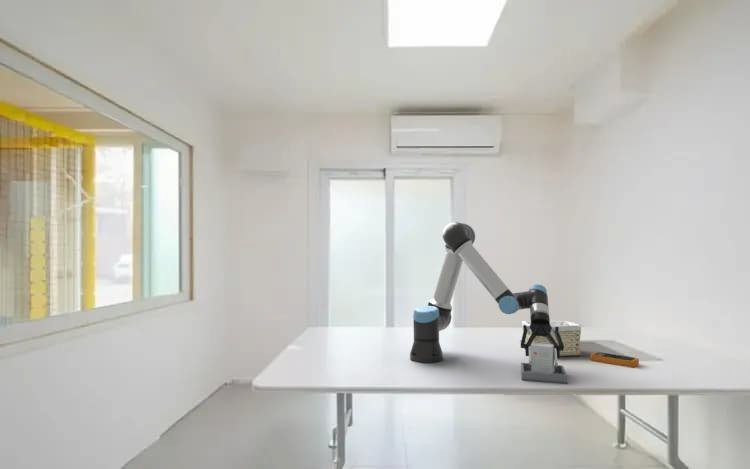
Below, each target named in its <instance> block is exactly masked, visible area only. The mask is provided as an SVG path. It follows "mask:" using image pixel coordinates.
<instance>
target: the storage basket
mask: <svg viewBox="0 0 750 469" xmlns="http://www.w3.org/2000/svg"><path fill="white" fill-rule="evenodd" d="M523 325H526V326H530V325H531V320H522V321H521V328H522V329H523ZM550 325H551V327H554V328H555V327H559V330H558V332H559V334H560V337H561V339H562V342H563V345H564V350H563V351H560V357H565V356H568V357H570V356H580V352H581V334H582V326H581V325H580V324H578V323H576V322H573V321H568V320H550ZM522 332H524V331H523V330H522ZM531 334H532V331H531V330H530V329H529V331H528V332H527V335H526V340H525V344H526V343H527V341H528V340H529V338H530V336H531ZM550 334H551V336H552V337H553V339H554V340H555V342H556V343H557V344H558V342H557V339H556V337H555V333H553V331H552V330H551V331H550ZM533 343H543V344H551V343H550V342H549V340H548V339H547V338H546V337H543V336H536V338H535V339H534V340H533V342H532V344H533ZM558 346H559V345H558ZM530 347H531V346H530Z"/></svg>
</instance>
